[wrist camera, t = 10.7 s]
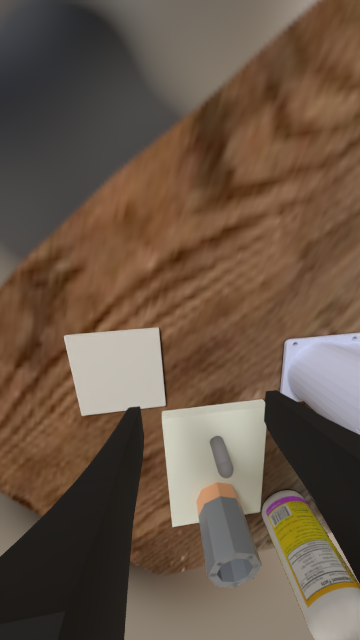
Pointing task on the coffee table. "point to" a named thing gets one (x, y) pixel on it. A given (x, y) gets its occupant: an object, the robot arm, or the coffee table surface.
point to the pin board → (201, 457)
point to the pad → (116, 370)
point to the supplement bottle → (313, 568)
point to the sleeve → (226, 537)
